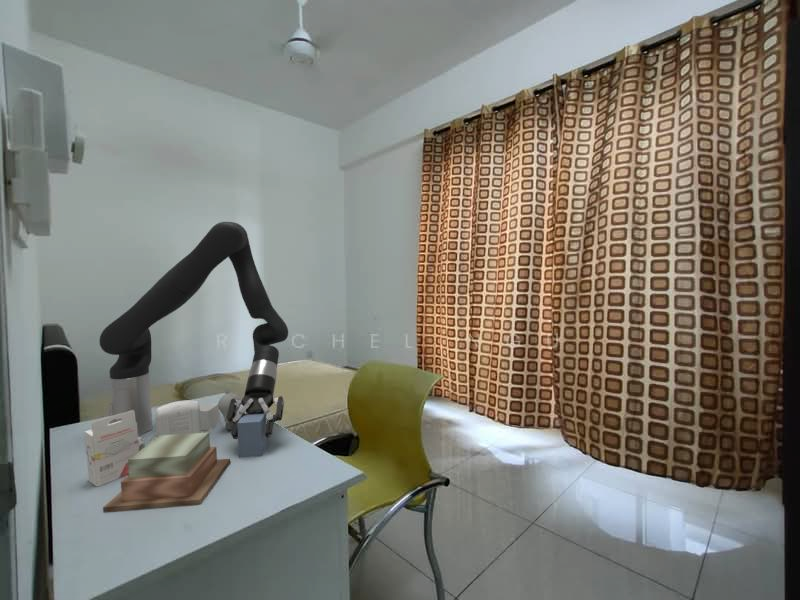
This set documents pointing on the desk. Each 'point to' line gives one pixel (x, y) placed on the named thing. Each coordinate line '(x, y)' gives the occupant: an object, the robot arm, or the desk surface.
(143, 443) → the game die
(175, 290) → the robot arm
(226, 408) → the lightbulb
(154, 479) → the stepped tiered pedestal
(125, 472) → the ink cartridge box
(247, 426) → the slate brick
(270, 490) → the desk surface
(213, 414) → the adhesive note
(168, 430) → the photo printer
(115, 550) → the desk surface
